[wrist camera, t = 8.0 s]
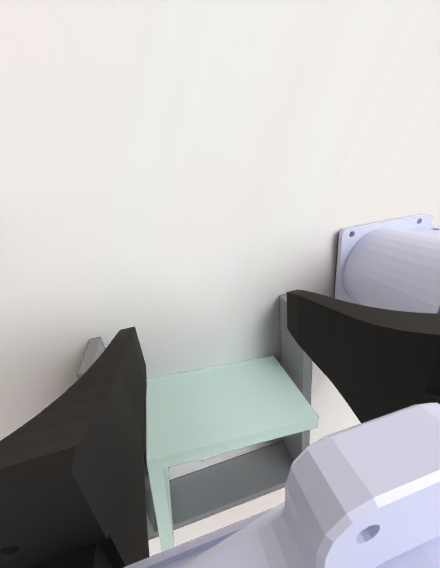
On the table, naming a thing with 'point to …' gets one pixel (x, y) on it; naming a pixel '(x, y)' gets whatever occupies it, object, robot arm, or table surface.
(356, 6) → the table surface
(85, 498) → the robot arm
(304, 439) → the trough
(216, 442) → the l-shaped corner panel
